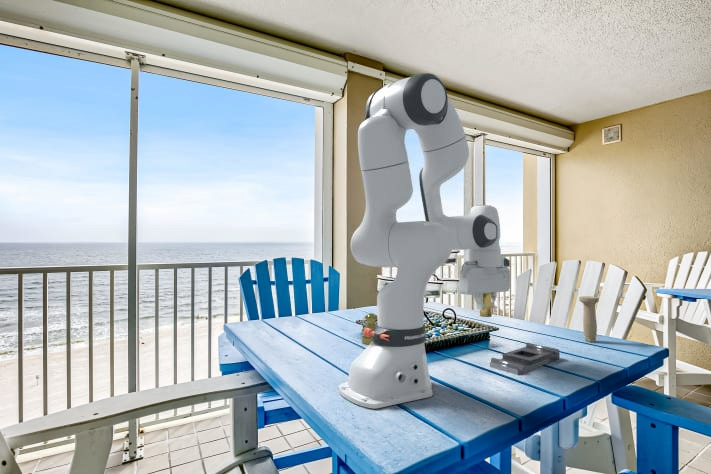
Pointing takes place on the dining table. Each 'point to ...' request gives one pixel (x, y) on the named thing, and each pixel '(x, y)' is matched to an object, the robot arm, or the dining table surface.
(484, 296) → the brass pin
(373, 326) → the olive green upright figure
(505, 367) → the gray stepped fixture plate
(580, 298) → the handle
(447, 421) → the dining table surface
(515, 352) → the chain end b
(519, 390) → the dining table surface
